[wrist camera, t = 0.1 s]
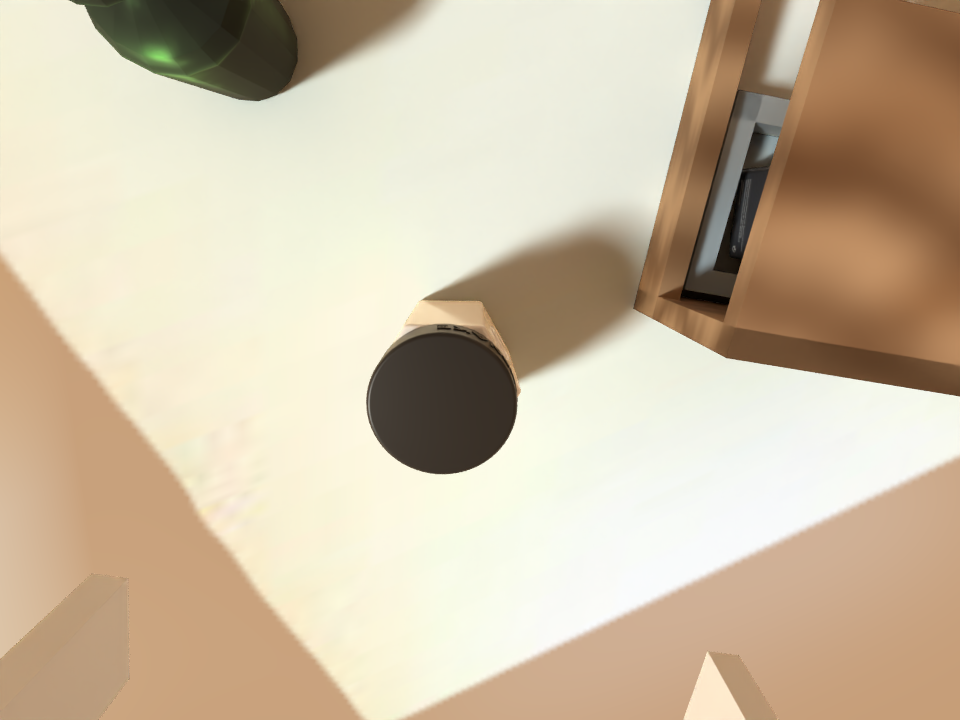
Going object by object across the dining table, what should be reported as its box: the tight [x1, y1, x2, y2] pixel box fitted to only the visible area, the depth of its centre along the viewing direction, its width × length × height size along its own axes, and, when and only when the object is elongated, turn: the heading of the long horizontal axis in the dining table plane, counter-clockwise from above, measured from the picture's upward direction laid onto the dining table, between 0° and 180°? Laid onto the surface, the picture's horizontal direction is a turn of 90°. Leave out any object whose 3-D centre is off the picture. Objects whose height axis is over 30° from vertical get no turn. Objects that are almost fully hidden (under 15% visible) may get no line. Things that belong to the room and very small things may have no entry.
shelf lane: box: [633, 0, 960, 396], centre depth 29 cm, size 22×21×14 cm
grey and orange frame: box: [683, 90, 790, 298], centre depth 30 cm, size 27×16×10 cm, turn 170°
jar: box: [366, 300, 521, 474], centre depth 33 cm, size 9×8×12 cm
